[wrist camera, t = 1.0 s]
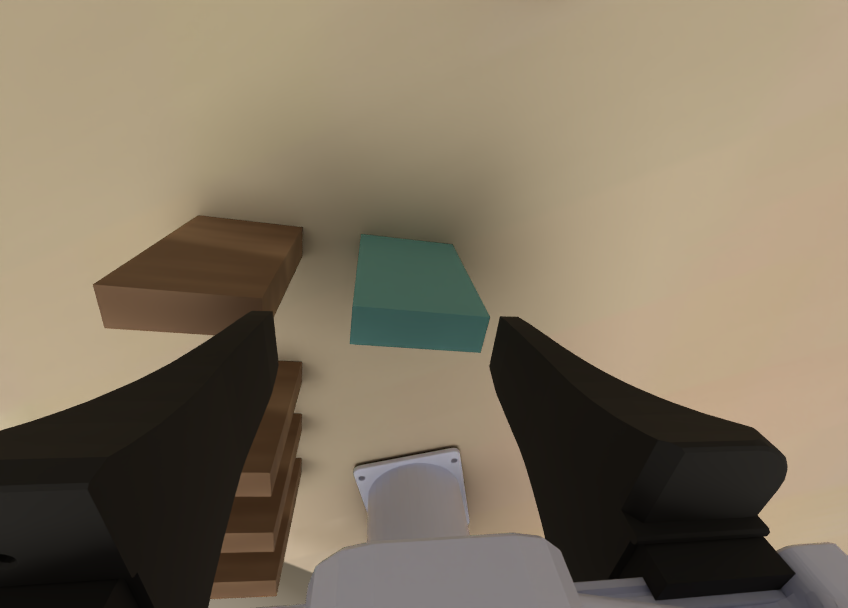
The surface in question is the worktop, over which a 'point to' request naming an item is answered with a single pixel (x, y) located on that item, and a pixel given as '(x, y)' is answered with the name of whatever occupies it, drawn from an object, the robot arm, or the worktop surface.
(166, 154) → the worktop surface
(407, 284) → the teal domino
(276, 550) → the walnut domino
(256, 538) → the walnut domino
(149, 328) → the walnut domino
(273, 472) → the walnut domino
